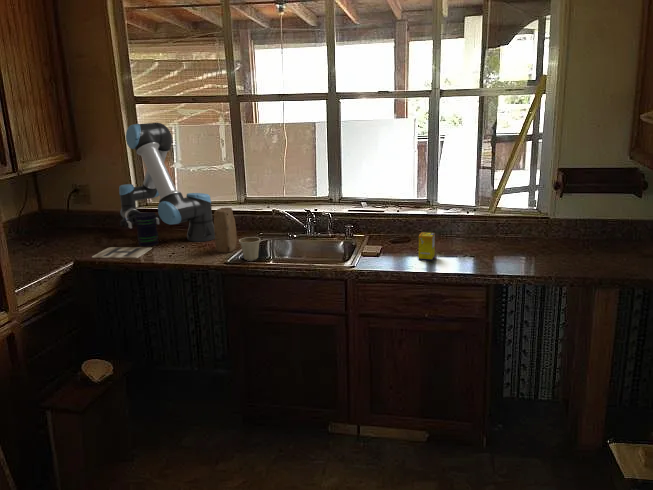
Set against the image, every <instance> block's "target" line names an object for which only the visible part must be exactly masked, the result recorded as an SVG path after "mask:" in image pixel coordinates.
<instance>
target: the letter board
mask: <svg viewBox="0 0 653 490" xmlns="http://www.w3.org/2000/svg"><path fill="white" fill-rule="evenodd" d="M152 249H153V247H145V246H140V247H138V246H137V247H133V246H132V247H128V246H127V247H126V246H125V247H121V246H118V247H117V246H116V247H114V246H111V247H107V248H104V249H103V250H102V251H101V250H100V251H99V252H98V253H96V254H94V255H92V256H91V258H92V259H97V258H98V259H138V258H140V257H142V256H143V255H144V254H146V253H147V252H149V251H150V250H152Z"/></svg>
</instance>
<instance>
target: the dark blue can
mask: <svg viewBox="0 0 653 490" xmlns="http://www.w3.org/2000/svg"><path fill="white" fill-rule="evenodd" d="M155 215H157V214H156V212H154V211H153V212H151V211H149V212H147V211H146V212H141V213H139V214H136V215H135V217H136V228H137V233H136V234H137V240H138V241H137V242H138V246H140V247H151V246H152V247H153V246H155V245H158V244H159V243H160V242H159V232H158V228H157V227H158V226H157V225H158V224H157V222H156V216H155Z"/></svg>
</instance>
